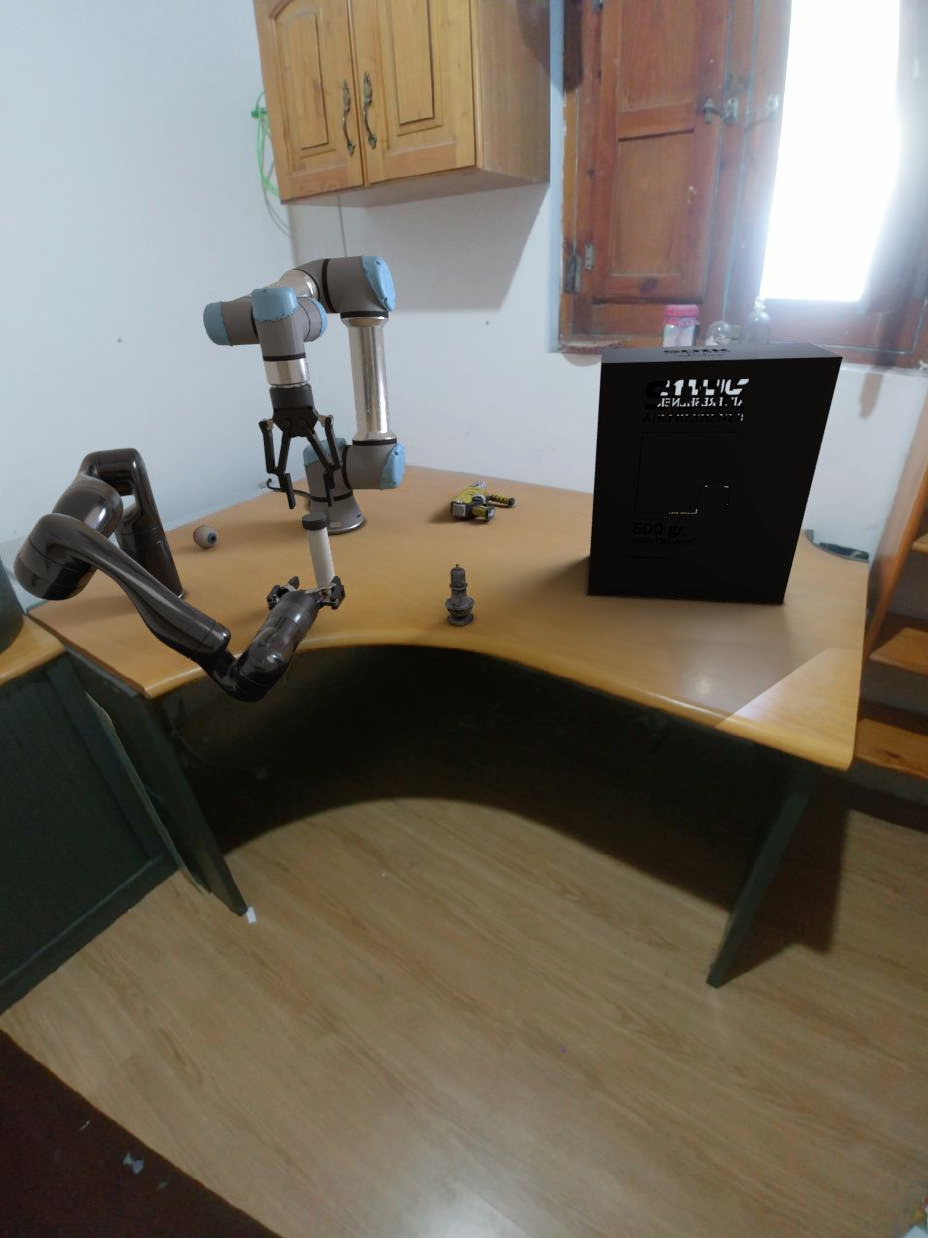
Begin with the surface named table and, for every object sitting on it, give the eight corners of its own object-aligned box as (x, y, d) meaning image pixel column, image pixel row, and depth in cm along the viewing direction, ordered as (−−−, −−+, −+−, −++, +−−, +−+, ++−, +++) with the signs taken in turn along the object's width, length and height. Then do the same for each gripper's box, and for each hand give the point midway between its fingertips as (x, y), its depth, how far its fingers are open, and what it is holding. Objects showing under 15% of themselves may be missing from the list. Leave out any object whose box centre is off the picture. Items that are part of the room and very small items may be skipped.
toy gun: (523, 485, 181) (476, 478, 185) (501, 509, 161) (448, 500, 165) (521, 500, 184) (475, 493, 187) (499, 525, 163) (447, 517, 167)
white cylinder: (332, 592, 134) (317, 513, 124) (342, 597, 131) (328, 518, 122) (316, 598, 131) (300, 519, 122) (326, 604, 129) (310, 523, 119)
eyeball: (207, 553, 156) (200, 531, 153) (191, 549, 159) (185, 527, 156) (225, 545, 160) (220, 523, 157) (210, 541, 163) (204, 520, 160)
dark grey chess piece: (472, 626, 117) (469, 570, 111) (442, 624, 118) (438, 569, 112) (477, 611, 122) (475, 557, 116) (449, 610, 123) (445, 556, 117)
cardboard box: (760, 561, 136) (807, 342, 113) (782, 604, 118) (842, 356, 96) (590, 554, 143) (602, 348, 121) (587, 594, 126) (601, 362, 104)
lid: (319, 519, 126) (318, 510, 125) (333, 525, 123) (331, 515, 121) (298, 526, 123) (296, 517, 122) (311, 532, 120) (309, 523, 119)
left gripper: (325, 601, 107) (348, 563, 121) (248, 601, 109) (280, 563, 123) (332, 637, 111) (353, 595, 125) (257, 637, 112) (287, 596, 126)
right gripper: (347, 377, 112) (363, 496, 124) (240, 384, 112) (267, 502, 124) (341, 384, 106) (359, 509, 117) (228, 391, 106) (257, 515, 117)
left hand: (317, 580), depth 124 cm, fingers open, 8 cm apart
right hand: (312, 505), depth 121 cm, fingers open, 7 cm apart
